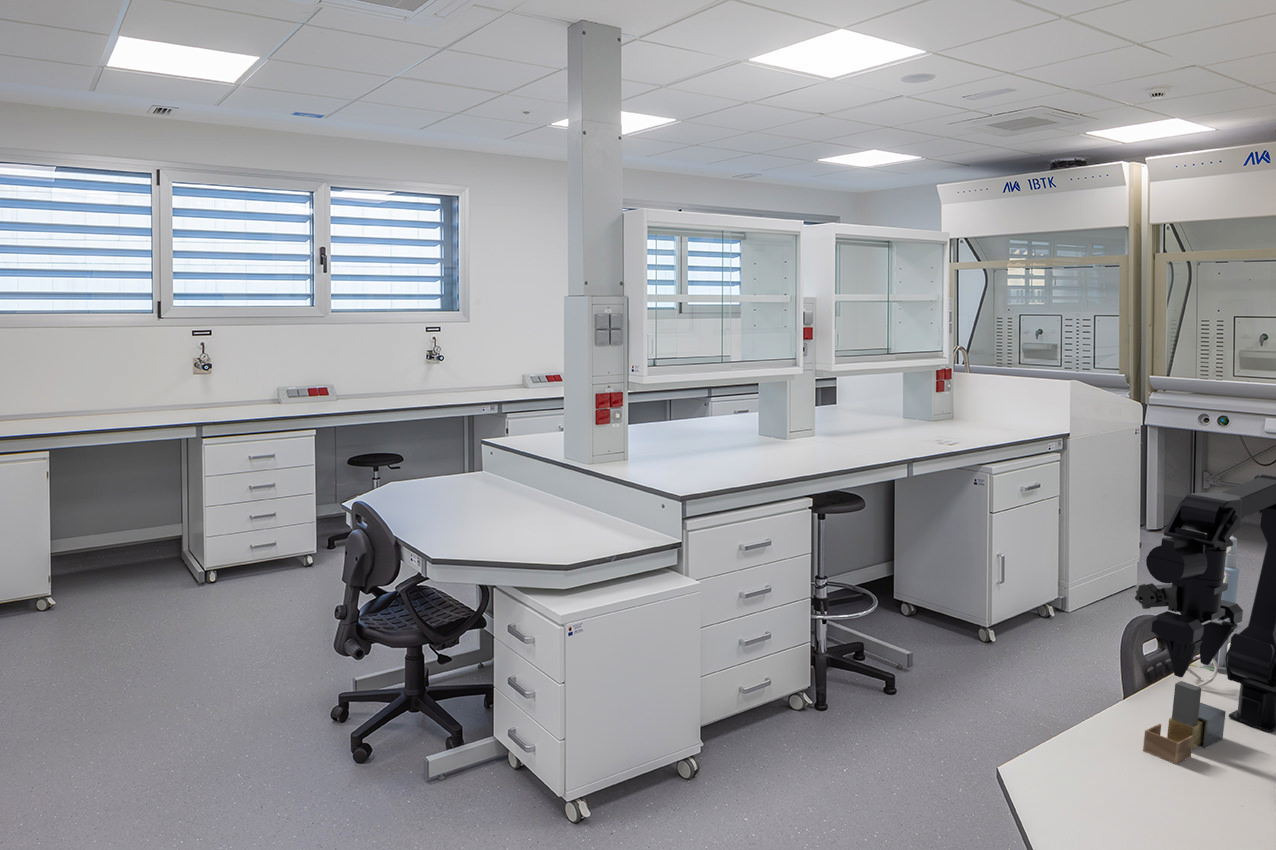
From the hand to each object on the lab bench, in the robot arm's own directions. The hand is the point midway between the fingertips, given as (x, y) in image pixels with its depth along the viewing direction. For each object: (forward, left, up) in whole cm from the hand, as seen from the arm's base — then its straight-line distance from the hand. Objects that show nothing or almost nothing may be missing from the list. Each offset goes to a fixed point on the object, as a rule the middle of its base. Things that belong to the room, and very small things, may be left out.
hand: (1191, 670), depth 137 cm
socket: (+5, 0, -13) cm, 14 cm away
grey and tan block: (-3, 0, -12) cm, 13 cm away
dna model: (-29, -11, -13) cm, 34 cm away
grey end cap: (-5, 0, -13) cm, 14 cm away
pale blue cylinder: (-41, -12, -13) cm, 45 cm away
